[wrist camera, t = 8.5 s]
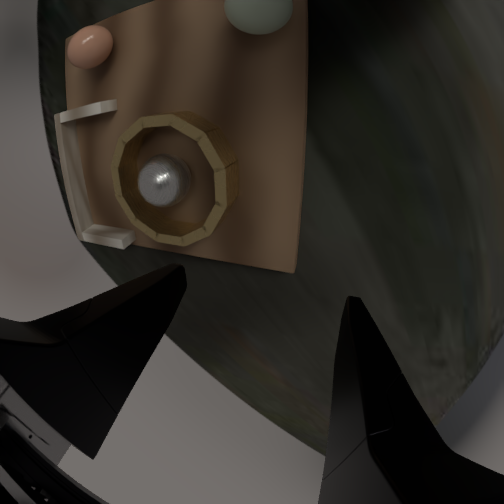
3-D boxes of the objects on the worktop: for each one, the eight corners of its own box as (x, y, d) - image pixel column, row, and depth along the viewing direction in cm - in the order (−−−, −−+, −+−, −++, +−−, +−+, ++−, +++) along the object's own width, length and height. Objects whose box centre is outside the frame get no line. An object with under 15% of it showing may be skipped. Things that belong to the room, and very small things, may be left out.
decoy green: (297, -11, 12) (285, -34, 9) (298, 39, 14) (286, 25, 11) (237, -7, 13) (213, -26, 10) (237, 41, 15) (212, 30, 12)
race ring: (238, 109, 18) (223, 111, 16) (240, 238, 23) (229, 253, 21) (125, 117, 20) (105, 122, 18) (139, 223, 25) (123, 236, 23)
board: (307, -16, 12) (299, -33, 10) (296, 265, 24) (289, 288, 21) (74, 38, 18) (50, 39, 15) (97, 231, 30) (78, 244, 27)
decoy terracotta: (123, 21, 15) (89, 17, 12) (122, 62, 18) (88, 63, 14) (91, 34, 16) (58, 34, 13) (91, 72, 19) (58, 76, 15)
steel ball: (199, 149, 20) (168, 159, 17) (201, 199, 22) (173, 218, 19) (157, 149, 21) (123, 159, 18) (161, 195, 23) (130, 212, 20)
